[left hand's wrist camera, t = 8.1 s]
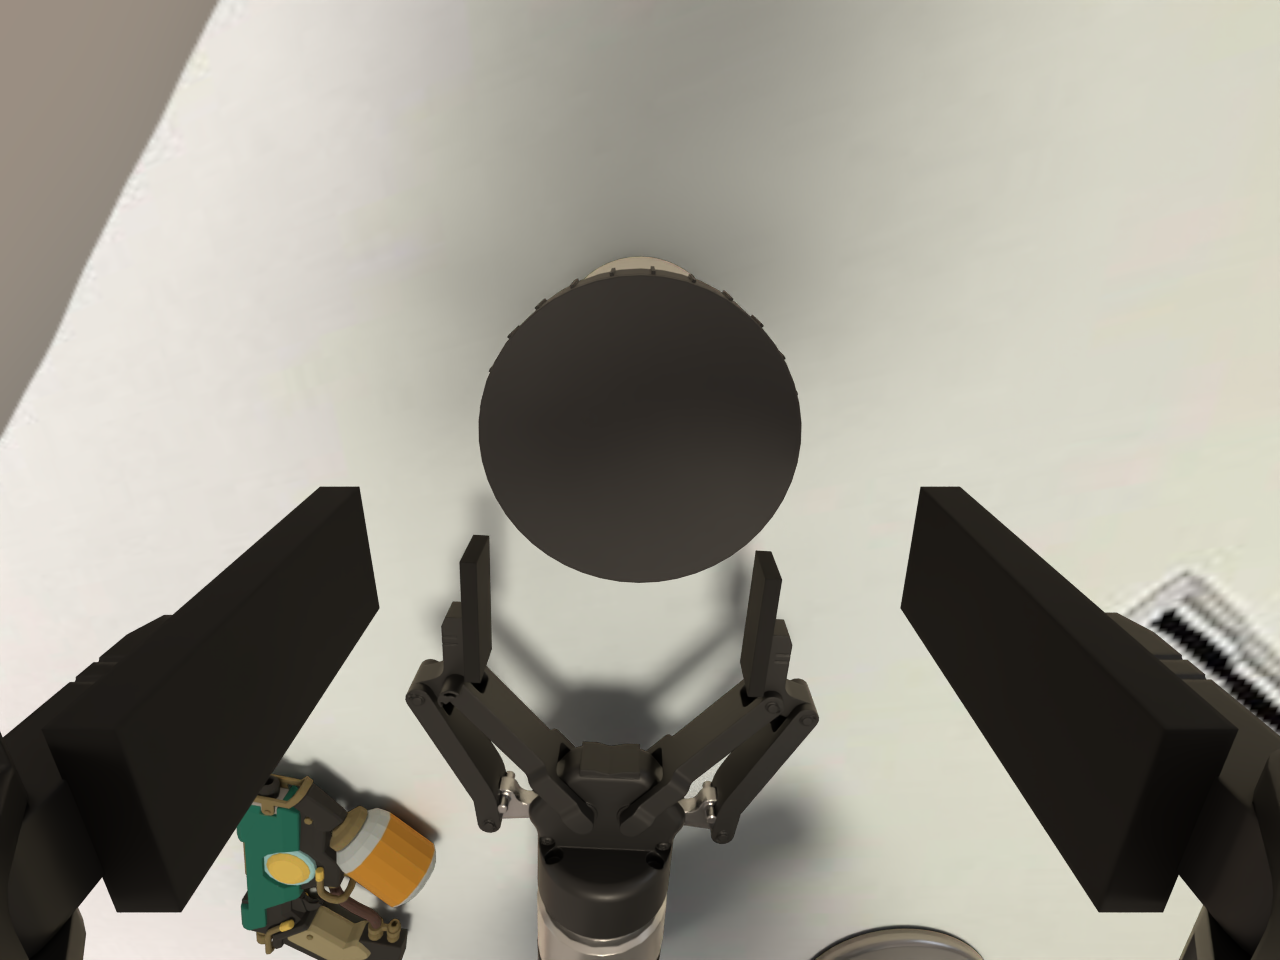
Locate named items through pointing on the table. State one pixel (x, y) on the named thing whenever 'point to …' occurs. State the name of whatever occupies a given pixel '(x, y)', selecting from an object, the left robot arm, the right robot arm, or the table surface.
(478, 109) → the table surface
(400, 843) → the spray gun
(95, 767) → the left robot arm
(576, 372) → the lid
